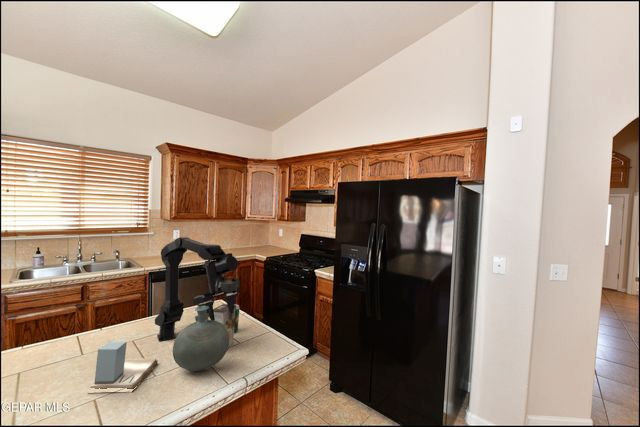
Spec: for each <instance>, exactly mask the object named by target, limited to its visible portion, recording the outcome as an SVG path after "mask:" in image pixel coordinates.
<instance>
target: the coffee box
mask: <svg viewBox="0 0 640 427" xmlns="http://www.w3.org/2000/svg"><path fill="white" fill-rule="evenodd" d="M236 305H237V304H234V311H233V313H230V311H229V308H228V306H227V303H222V304H220V305H219V306H217V307H215V308H214V307H213V310H214V316H215V320H214V321H218V322H220V323H222V324H223V325H224V326H225V327H226V329H227V331H228V334H229V346H228V348H229V347H231V345H232V344H233V343H234V340H235V338H234V337H235V333H234V328H235V314H236ZM209 320H211V319H210V318H209Z"/></svg>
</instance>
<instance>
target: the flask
mask: <svg viewBox="0 0 640 427" xmlns="http://www.w3.org/2000/svg"><path fill="white" fill-rule="evenodd" d="M207 309H209V306H197V307H195V309H194V311H195V312H196V313H197V315H195V316H194V319H195V322H193V323H190V324H188V325H187V326H185V327H184V328H183V329H181V330H180V332H179V333H178V334H177V335H176V338H174V339H175V340H174V341H173V345H172V357H173V359H174V362H175V363H176V365H177V366H179V367H180V368H181V369H183V370H186V371H189V372H200V371H201V372H202V371H205V370H207V369H208V370H209V369H210V368H212V367H214V366H215V365H217V364H218V363H220V362H221V361H222V359H223V358H224V357H225V355H226V354H227V351H228V349H229V347H230V346H229V334H228V331H227V329H226V327H225V326H224V325H223V324H222V323H220V322H218V321H214V320H210V318H209V313H207V314H206V312H207ZM228 346H229V347H228Z"/></svg>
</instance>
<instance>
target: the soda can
mask: <svg viewBox="0 0 640 427" xmlns="http://www.w3.org/2000/svg"><path fill="white" fill-rule="evenodd" d="M235 305H236V314H235V328H234V334H235V333H237V332H238V330H239V320H240V319H239V318H240V309H241V308H240V305H239V304H235Z"/></svg>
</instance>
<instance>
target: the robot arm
mask: <svg viewBox="0 0 640 427" xmlns="http://www.w3.org/2000/svg"><path fill="white" fill-rule="evenodd" d="M188 251H191V252H193V253H196V254H197V255H198V257H199V258H200V259H202V260H204V263H203V264H202V266H201V268H205V270H206V276H207V281H205V285H208V287H209V288H208V289H209V291H208V292H207V293H204V294H200V295H197V296H194V297H193V299H192V302H193V305H194V306H197V307H199V306H209V309H207V312H206V314H207V313H209V318H208V319H209V320H210V319H211V320H215V316H214V310H213V309H214V304H215V300H214V299H215V298H219V297H221V296H224V300H225V304H227V306H228V308H229V311H230V313H233V311H234V305H236V304H235V302H236V298H237V297H238V296H239V295H240V292H242V288H241V286H240V279H239V277H233V278H231V279H230V280H228V278H227V276H225V275H224V274H227V273H230V272H234V271H235V270H237V269H238V267H239V262H238V261H239V260H237V258H236V257H235V256H233V253H232V252H231V253H229V252H228V253H226V252H225V251H224V250H223V248H222V246H221V245H219V244H213V243H212V244H210V243H208V244H206V243H203V242H201V241H197V240H194V239H191V238H190V237H188V236H187V237H185V236H184V237H177V238H175V239H174V240H173V241H171V242H169V243H167V244H165V245H164V246H163V248H161V250H160V256H161V262H162V263H163V264H164V267H165V290H164V292H165V293H164V294H165V296H164V298H165V300H164V302H162V305H161V307H160V311H159V314H158V315H157V316H156V317H155V318H154V325H155V326H158V327H159V330H158V331H159V332H158V333H159V334H156V337H157V341H159V342H163V341H168V340H173V339H176V337H177V335H176V333H175V330H176V323H178V322H180V321H181V320H182V317H183V314H184V302H181V300H180V299H179V273H180V272H179V267H180V264H181V263H182V261H183V259H184V254H185V253H186V252H188Z"/></svg>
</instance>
